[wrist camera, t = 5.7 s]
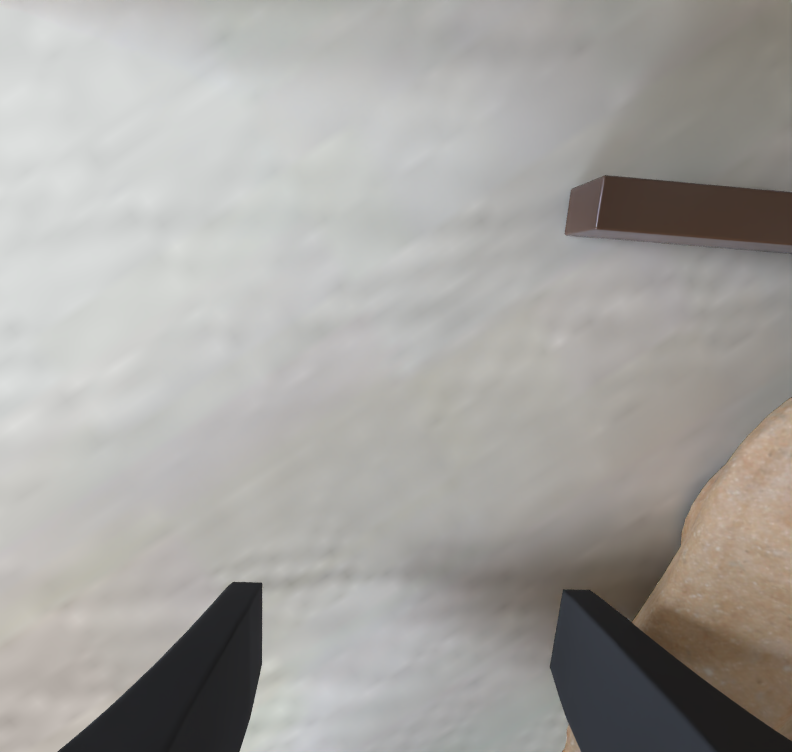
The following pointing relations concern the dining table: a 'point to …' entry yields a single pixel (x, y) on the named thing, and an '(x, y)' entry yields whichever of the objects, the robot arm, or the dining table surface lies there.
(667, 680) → the robot arm
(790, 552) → the pottery oil lamp
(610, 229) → the walnut bay
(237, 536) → the dining table surface
